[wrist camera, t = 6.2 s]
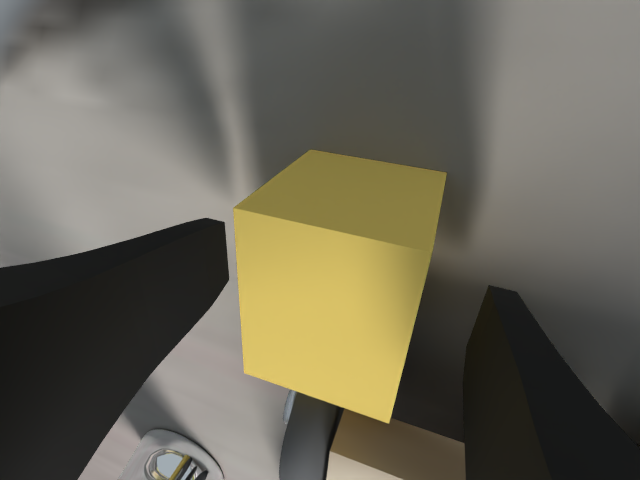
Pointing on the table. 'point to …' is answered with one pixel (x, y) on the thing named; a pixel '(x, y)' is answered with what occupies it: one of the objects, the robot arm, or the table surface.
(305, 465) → the dolly
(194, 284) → the robot arm
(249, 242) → the block
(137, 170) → the table surface
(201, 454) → the beer glass
